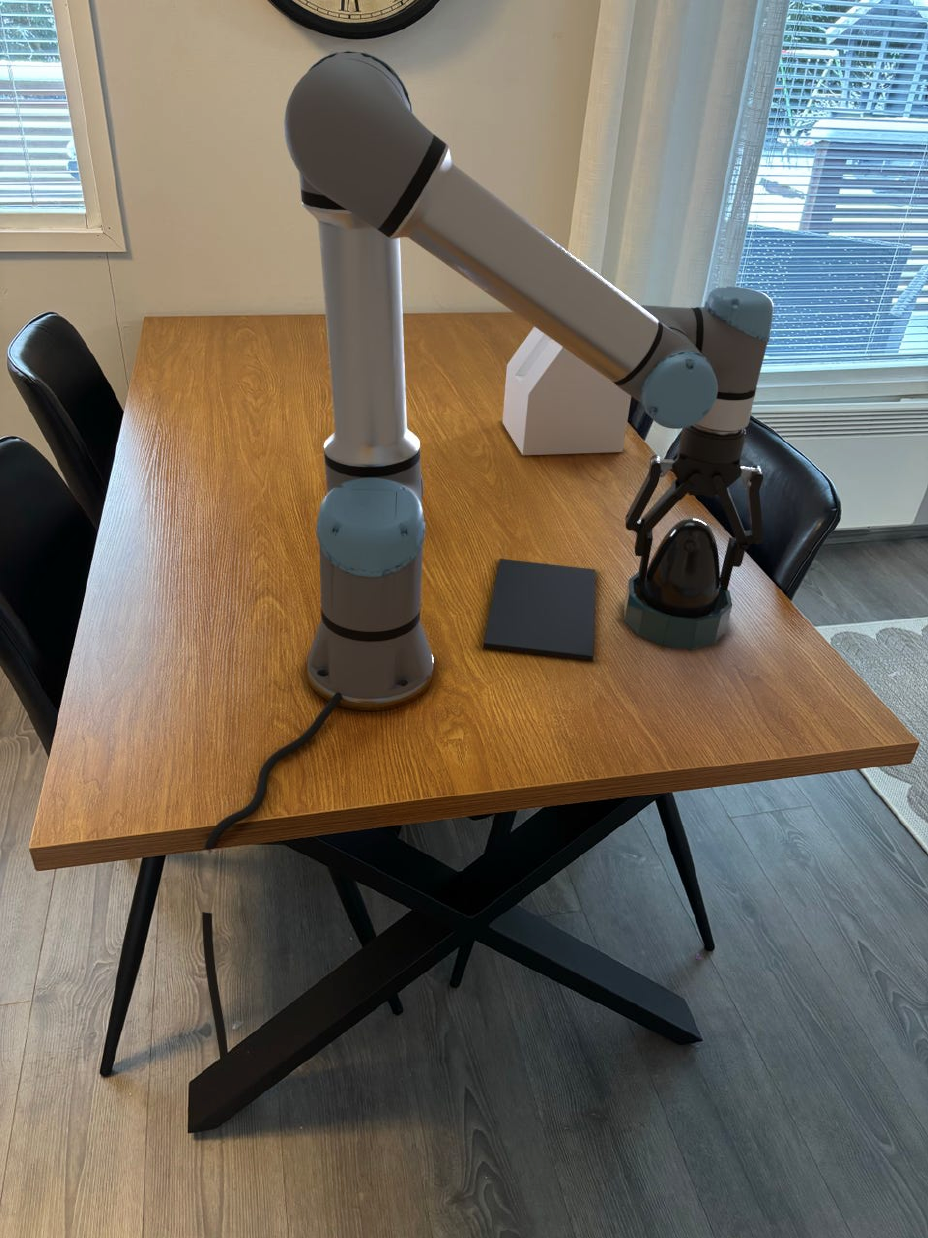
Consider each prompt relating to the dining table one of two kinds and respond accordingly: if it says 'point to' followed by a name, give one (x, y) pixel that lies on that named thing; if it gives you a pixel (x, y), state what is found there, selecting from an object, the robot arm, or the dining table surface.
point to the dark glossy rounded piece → (684, 572)
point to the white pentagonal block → (561, 402)
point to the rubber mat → (542, 610)
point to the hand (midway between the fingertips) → (682, 580)
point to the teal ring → (675, 621)
